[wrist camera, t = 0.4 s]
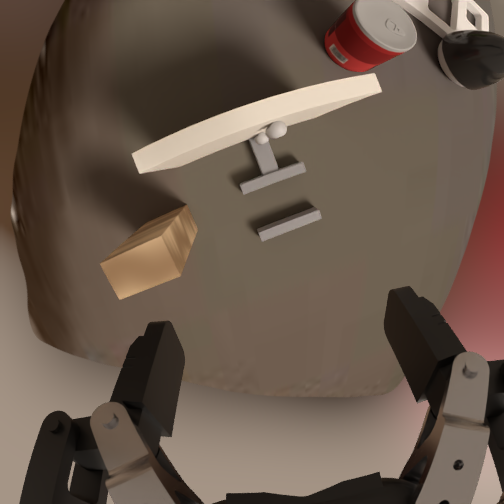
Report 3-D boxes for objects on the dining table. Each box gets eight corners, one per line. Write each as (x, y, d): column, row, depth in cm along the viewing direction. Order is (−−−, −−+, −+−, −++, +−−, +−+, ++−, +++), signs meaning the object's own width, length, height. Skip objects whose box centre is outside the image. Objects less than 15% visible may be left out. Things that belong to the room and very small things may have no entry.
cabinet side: (175, 156, 33) (131, 153, 17) (310, 107, 32) (374, 73, 16) (217, 254, 37) (211, 325, 21) (343, 205, 37) (418, 240, 21)
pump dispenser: (457, 104, 33) (524, 99, 18) (419, 54, 30) (485, 32, 16) (475, 74, 31) (535, 66, 16) (441, 29, 28) (499, 8, 14)
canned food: (373, 80, 31) (418, 61, 21) (319, 63, 30) (353, 33, 20) (375, 37, 29) (416, 11, 19) (324, 20, 28) (355, -17, 18)
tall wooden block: (145, 223, 35) (99, 263, 21) (187, 204, 35) (161, 235, 21) (156, 246, 36) (119, 299, 22) (197, 229, 36) (180, 276, 22)
